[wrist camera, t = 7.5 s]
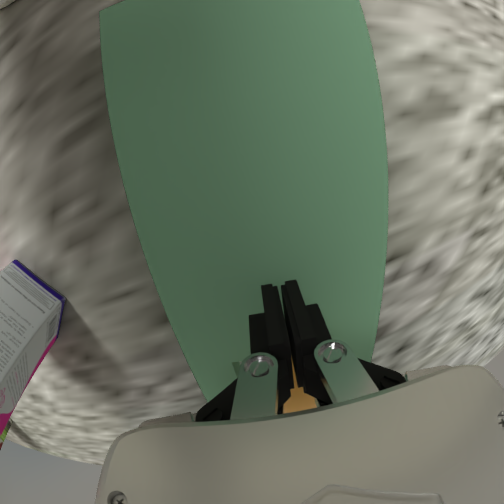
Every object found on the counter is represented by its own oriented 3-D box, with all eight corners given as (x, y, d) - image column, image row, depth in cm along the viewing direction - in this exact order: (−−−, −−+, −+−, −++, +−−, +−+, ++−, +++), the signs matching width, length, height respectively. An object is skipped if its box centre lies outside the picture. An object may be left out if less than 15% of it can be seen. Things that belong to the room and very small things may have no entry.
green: (118, 25, 9) (99, 11, 7) (334, -7, 9) (350, -25, 7) (223, 408, 22) (223, 430, 20) (351, 386, 22) (359, 407, 19)
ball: (252, 355, 13) (265, 429, 11) (330, 340, 13) (342, 413, 11) (257, 354, 17) (266, 412, 15) (318, 343, 17) (327, 400, 15)
